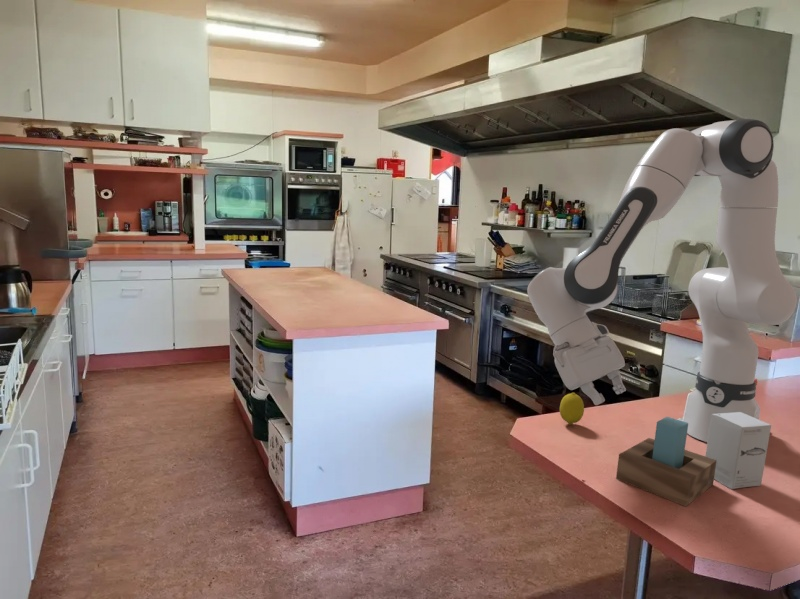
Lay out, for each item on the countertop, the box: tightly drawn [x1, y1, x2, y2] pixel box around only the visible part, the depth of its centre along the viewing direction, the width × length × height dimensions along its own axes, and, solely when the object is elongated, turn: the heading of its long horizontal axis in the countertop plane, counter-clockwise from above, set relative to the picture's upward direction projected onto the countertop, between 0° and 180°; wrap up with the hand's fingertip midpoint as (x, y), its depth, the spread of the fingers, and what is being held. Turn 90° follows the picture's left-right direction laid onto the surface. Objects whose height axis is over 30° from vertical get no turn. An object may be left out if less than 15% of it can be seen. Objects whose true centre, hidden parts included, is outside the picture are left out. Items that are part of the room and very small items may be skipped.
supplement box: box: [704, 412, 772, 490], centre depth 112 cm, size 7×7×13 cm
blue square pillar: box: [652, 416, 688, 469], centre depth 110 cm, size 4×4×11 cm
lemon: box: [559, 392, 585, 426], centre depth 137 cm, size 6×6×8 cm
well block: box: [615, 437, 717, 508], centre depth 110 cm, size 13×13×5 cm
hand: (611, 397), depth 118 cm, fingers open, 8 cm apart
